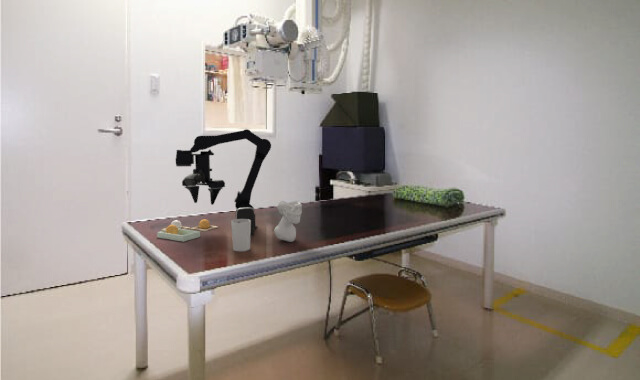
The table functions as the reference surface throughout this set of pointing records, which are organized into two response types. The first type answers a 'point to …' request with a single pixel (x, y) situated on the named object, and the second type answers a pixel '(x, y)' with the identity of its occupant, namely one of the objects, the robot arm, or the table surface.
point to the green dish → (179, 235)
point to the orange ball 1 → (172, 229)
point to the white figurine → (288, 220)
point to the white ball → (176, 223)
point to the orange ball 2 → (204, 224)
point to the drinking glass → (241, 234)
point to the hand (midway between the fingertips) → (203, 203)
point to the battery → (246, 216)
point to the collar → (203, 229)
